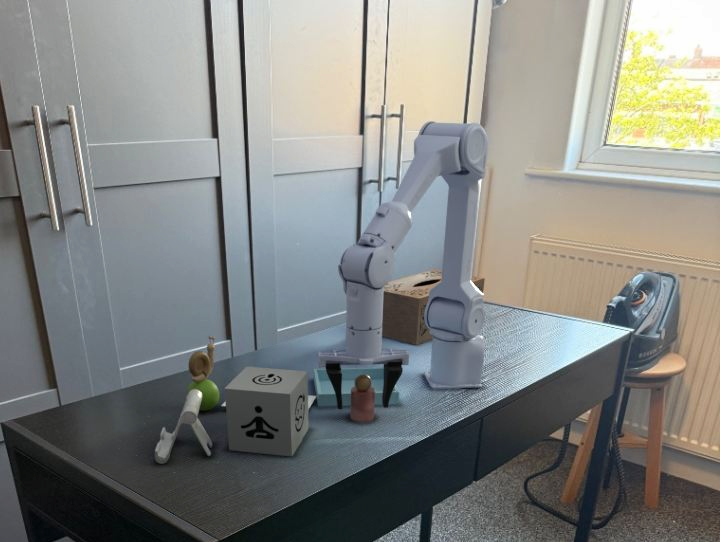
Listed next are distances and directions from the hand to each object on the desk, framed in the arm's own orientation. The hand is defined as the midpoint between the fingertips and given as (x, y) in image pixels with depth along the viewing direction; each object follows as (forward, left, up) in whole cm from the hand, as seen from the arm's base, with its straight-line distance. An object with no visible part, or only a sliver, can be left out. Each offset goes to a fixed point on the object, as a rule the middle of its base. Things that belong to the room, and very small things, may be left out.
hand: (362, 406), depth 120 cm
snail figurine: (+27, -6, -2) cm, 27 cm away
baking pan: (0, -12, -2) cm, 12 cm away
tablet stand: (+29, +11, -2) cm, 30 cm away
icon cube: (+16, +7, -2) cm, 17 cm away
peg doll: (0, 0, -2) cm, 2 cm away
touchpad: (+16, -6, -2) cm, 17 cm away
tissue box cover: (-21, -54, -2) cm, 58 cm away
